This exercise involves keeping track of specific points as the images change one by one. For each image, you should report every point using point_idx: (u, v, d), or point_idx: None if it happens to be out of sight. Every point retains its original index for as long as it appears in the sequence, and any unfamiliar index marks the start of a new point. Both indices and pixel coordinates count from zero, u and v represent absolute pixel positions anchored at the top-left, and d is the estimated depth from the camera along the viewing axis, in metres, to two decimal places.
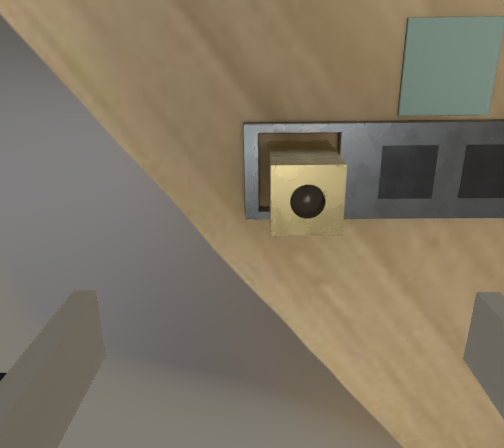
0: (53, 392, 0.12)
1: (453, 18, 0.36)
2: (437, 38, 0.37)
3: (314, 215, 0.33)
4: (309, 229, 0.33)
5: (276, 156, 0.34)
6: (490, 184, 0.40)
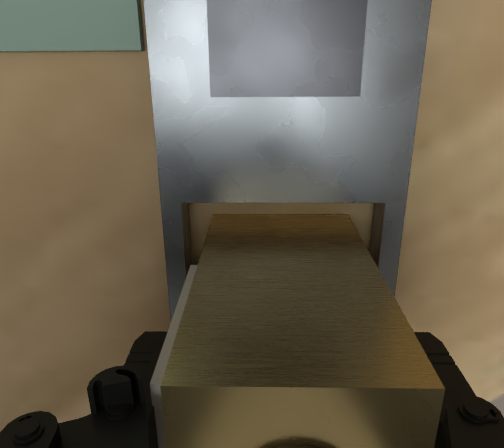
0: None
1: None
2: None
3: None
4: None
5: None
6: None
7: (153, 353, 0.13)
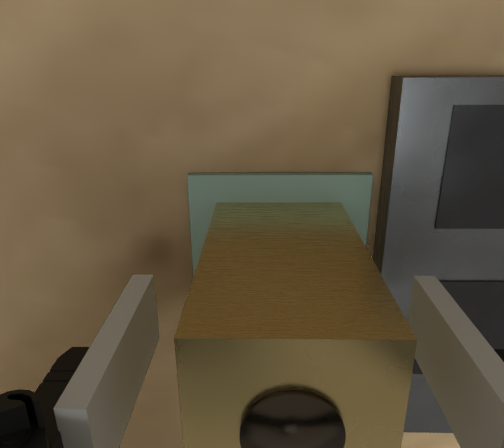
0: (128, 364, 0.13)
1: (195, 264, 0.20)
2: None
3: (337, 420, 0.10)
4: (383, 426, 0.11)
5: None
6: None
7: (74, 371, 0.12)
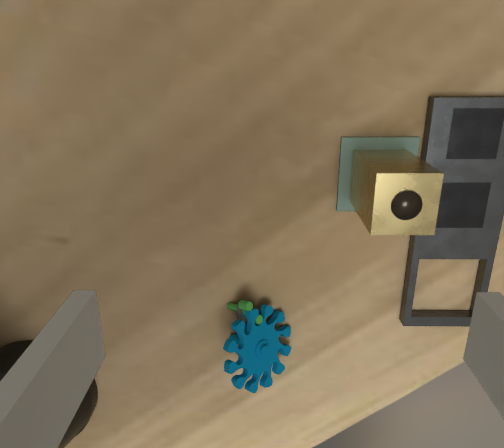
0: (53, 392, 0.12)
1: (340, 178, 0.46)
2: None
3: (420, 199, 0.37)
4: (433, 202, 0.37)
5: (363, 217, 0.41)
6: (487, 131, 0.43)
7: None
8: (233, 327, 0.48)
